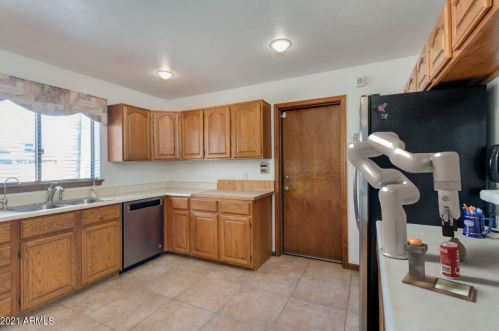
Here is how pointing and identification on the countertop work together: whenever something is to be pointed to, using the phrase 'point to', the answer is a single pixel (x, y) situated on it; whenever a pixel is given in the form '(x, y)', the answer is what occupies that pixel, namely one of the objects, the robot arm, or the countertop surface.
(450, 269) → the soda can
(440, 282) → the activity board
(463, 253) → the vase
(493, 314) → the countertop surface
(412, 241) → the button
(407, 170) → the robot arm
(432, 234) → the countertop surface
